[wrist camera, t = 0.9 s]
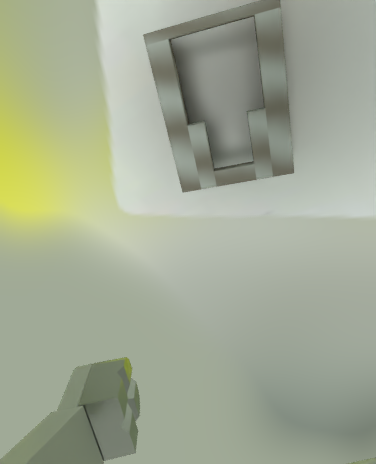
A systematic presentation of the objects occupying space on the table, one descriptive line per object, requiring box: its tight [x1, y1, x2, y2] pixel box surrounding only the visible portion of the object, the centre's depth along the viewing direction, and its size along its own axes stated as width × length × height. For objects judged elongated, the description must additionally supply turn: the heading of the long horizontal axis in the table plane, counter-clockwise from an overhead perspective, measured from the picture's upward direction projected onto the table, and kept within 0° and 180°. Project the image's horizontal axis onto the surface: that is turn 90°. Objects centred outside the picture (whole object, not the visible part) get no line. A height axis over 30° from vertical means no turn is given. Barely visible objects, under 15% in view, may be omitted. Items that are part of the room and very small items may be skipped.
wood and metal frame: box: [143, 0, 294, 192], centre depth 40 cm, size 18×14×10 cm
